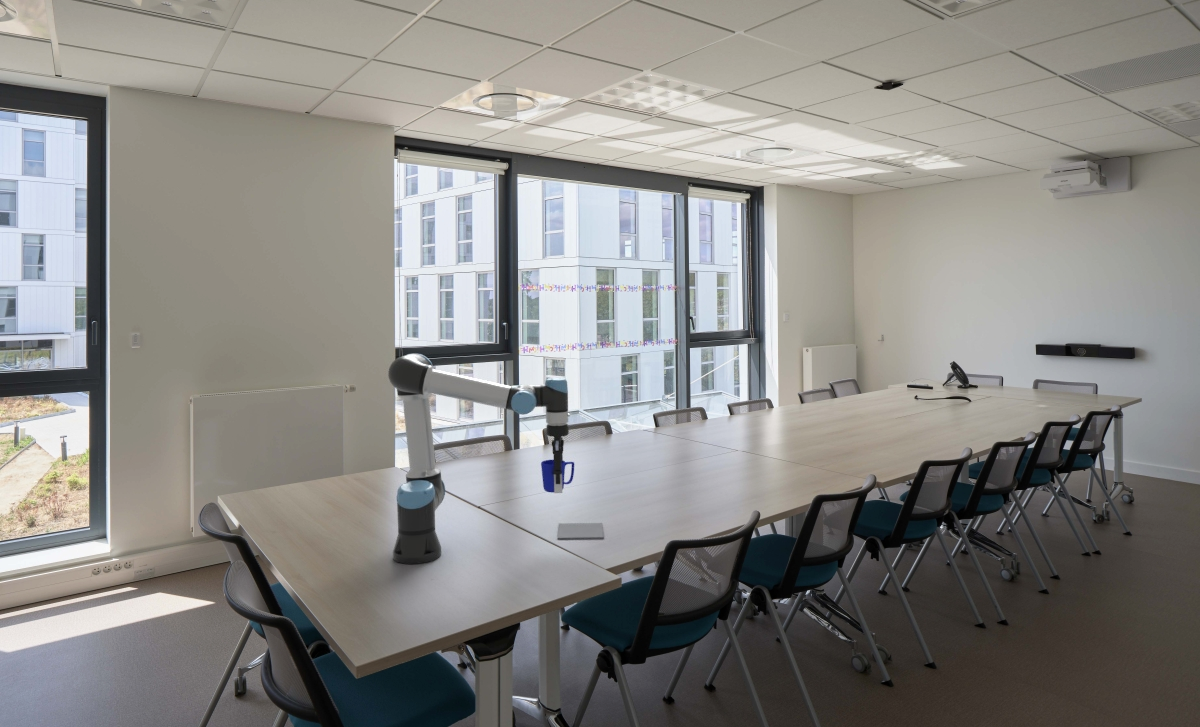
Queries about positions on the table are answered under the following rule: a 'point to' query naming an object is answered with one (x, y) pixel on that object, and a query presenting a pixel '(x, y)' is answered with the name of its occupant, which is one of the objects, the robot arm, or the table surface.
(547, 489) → the mug
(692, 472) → the table surface
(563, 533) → the coaster
